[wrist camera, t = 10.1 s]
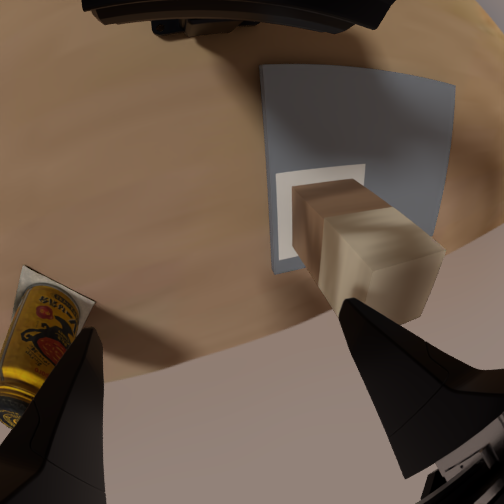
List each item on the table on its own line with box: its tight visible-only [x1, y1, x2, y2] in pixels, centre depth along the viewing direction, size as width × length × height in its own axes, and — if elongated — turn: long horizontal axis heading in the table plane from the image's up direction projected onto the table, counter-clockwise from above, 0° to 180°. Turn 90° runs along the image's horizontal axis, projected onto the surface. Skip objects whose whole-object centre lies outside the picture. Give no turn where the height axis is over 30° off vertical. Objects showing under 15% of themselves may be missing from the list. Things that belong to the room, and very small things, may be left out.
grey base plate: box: [259, 64, 455, 275], centre depth 21 cm, size 16×18×1 cm
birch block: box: [318, 207, 446, 325], centre depth 16 cm, size 5×5×5 cm
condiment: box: [0, 265, 95, 429], centre depth 17 cm, size 7×8×12 cm
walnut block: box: [292, 179, 392, 285], centre depth 20 cm, size 5×5×5 cm
